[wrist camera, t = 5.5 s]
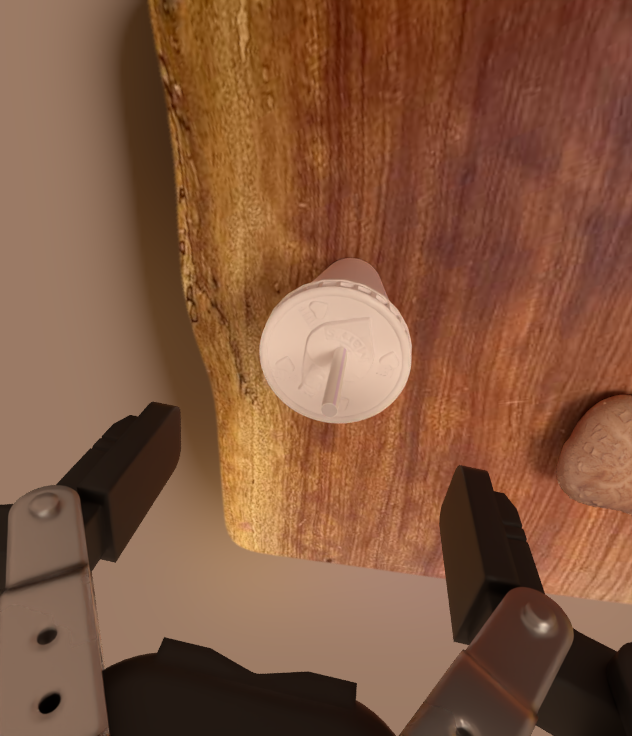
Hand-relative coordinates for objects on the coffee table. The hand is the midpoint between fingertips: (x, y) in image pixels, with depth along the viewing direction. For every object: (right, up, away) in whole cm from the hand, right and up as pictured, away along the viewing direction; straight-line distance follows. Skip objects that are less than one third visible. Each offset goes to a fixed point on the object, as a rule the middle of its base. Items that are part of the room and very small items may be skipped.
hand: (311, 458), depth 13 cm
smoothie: (+2, +7, +14) cm, 16 cm away
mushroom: (+19, -2, +17) cm, 26 cm away
